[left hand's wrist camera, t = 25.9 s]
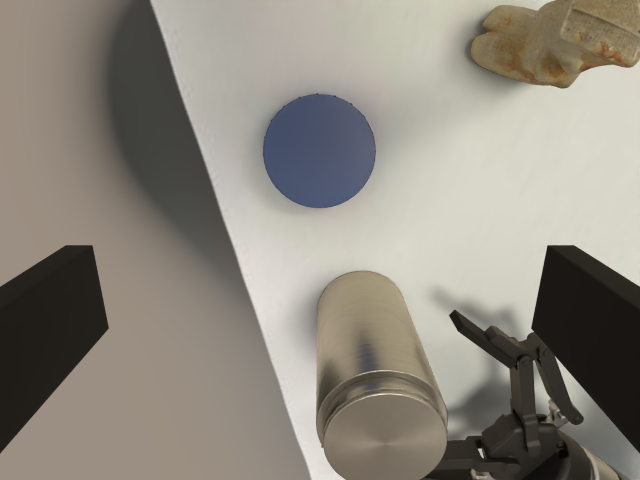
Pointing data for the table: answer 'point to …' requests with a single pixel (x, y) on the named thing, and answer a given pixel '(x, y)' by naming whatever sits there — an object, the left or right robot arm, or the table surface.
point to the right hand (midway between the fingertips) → (405, 370)
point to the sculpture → (559, 40)
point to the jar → (375, 384)
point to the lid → (319, 151)
